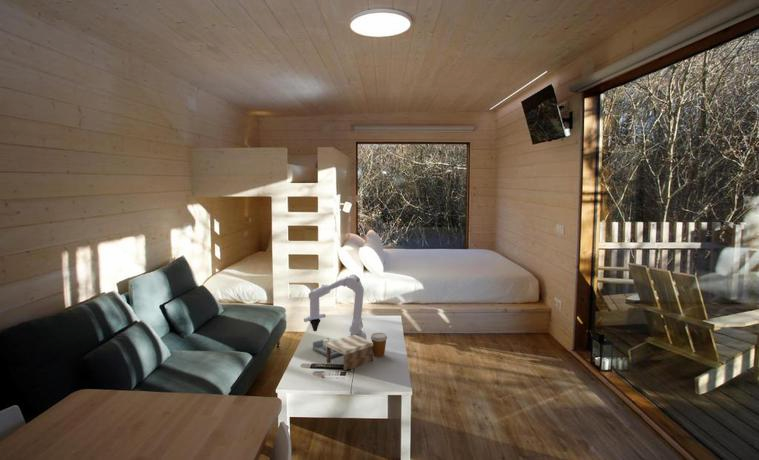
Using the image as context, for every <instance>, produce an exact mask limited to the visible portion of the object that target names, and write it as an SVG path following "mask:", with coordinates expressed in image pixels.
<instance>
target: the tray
mask: <svg viewBox="0 0 759 460" xmlns="http://www.w3.org/2000/svg"><path fill="white" fill-rule="evenodd" d="M328 342H330V338H329V337H327V338H322V339H320V340H316V341H312V350H313V351H315V352H317V353H319V354H321V355H323V356H324V357H327V343H328ZM338 356H339V357H340V356H344V354H342V353H339V352H337V351H335V350H333V349H331V348H330V359H333V358H336V357H338Z"/></svg>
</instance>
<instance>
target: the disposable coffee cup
mask: <svg viewBox="0 0 759 460" xmlns="http://www.w3.org/2000/svg"><path fill="white" fill-rule="evenodd" d="M387 340H388V336H387V334H386V333H383V332H374V333H372V334H371V336H370V341H371V342H373V357H375V358H384V356H385V352H386V345H387Z"/></svg>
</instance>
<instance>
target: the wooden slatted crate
mask: <svg viewBox="0 0 759 460" xmlns="http://www.w3.org/2000/svg"><path fill="white" fill-rule="evenodd" d="M330 348H331V349H333V350H335V351H337V352H339V353H342V354H343V371H344V370H347V369H350V370H352V368H353V369H355V368H358V367H361V366H363V365H366V364H369V363H372V362H374V355H373V342H372V340H369V339H367V338H366V339H364V338H362V337H359V336H357V335H351V334H350V335H349V336H344V337H343V338H339V339H335V340H332V341H329V342H328V343H327V356H326V362H327V363H331V361H332V360H331V358H330ZM347 371H348V370H347Z"/></svg>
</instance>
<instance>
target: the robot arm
mask: <svg viewBox="0 0 759 460" xmlns="http://www.w3.org/2000/svg"><path fill="white" fill-rule="evenodd" d="M338 287H345V288H349V289H350V290H352V291H353V293H354V305H353V313H352V315H353V316H352V321H351V325H350V326H349V333H350V336H351V335H357V336H359V337H362V338H364V339H367V334H366V332H365V331H363V330H362V329H363V327H364V324H363V322H362V321H363V318H362V314H363V313H362V312H363V303H364V294H365V292H364V291H365V290H364V289H365V288H364V286H363V285H362V282H361V278H360V277H359V276H358V275H356V274H350V275H347V276H344V277H342V278H340V279H338V280H336V281H334V282H332V283H330V284H327V283H326V284H324V283H323V284H321V286H319V287H315V288H314V289H313V290H311V291H309V293H308V298H309V316H307V317H304V318H303V322H304V323H307V322H309V323H310V325H311V328H312V331H313V332H317V331H318V327H319V325H320V322H321V319H322V318H326V313H320V298H322V297H324V296H326V295H329V294H330V293H331V291H333V290H334V289H337V288H338Z"/></svg>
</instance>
